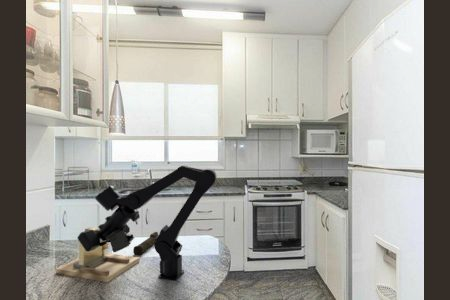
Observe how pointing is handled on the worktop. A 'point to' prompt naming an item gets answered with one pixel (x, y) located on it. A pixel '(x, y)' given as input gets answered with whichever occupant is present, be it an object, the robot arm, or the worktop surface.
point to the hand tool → (145, 244)
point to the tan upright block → (90, 257)
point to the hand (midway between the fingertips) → (92, 248)
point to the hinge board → (101, 266)
